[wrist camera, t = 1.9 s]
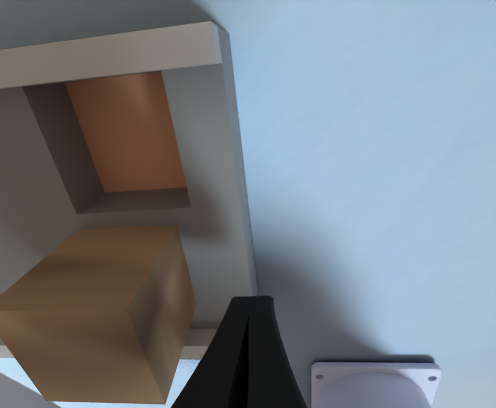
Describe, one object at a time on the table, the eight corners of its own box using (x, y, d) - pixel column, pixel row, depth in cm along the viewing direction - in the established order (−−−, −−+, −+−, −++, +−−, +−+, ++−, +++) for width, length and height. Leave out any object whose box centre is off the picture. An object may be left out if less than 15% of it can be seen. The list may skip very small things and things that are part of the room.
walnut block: (196, 303, 14) (165, 404, 10) (110, 305, 14) (46, 401, 10) (177, 224, 12) (126, 309, 8) (77, 229, 12) (-20, 311, 8)
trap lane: (259, 304, 17) (255, 392, 12) (-45, 309, 19) (-141, 383, 15) (228, 33, 10) (197, 11, 6) (-215, 91, 13) (-472, 105, 8)
